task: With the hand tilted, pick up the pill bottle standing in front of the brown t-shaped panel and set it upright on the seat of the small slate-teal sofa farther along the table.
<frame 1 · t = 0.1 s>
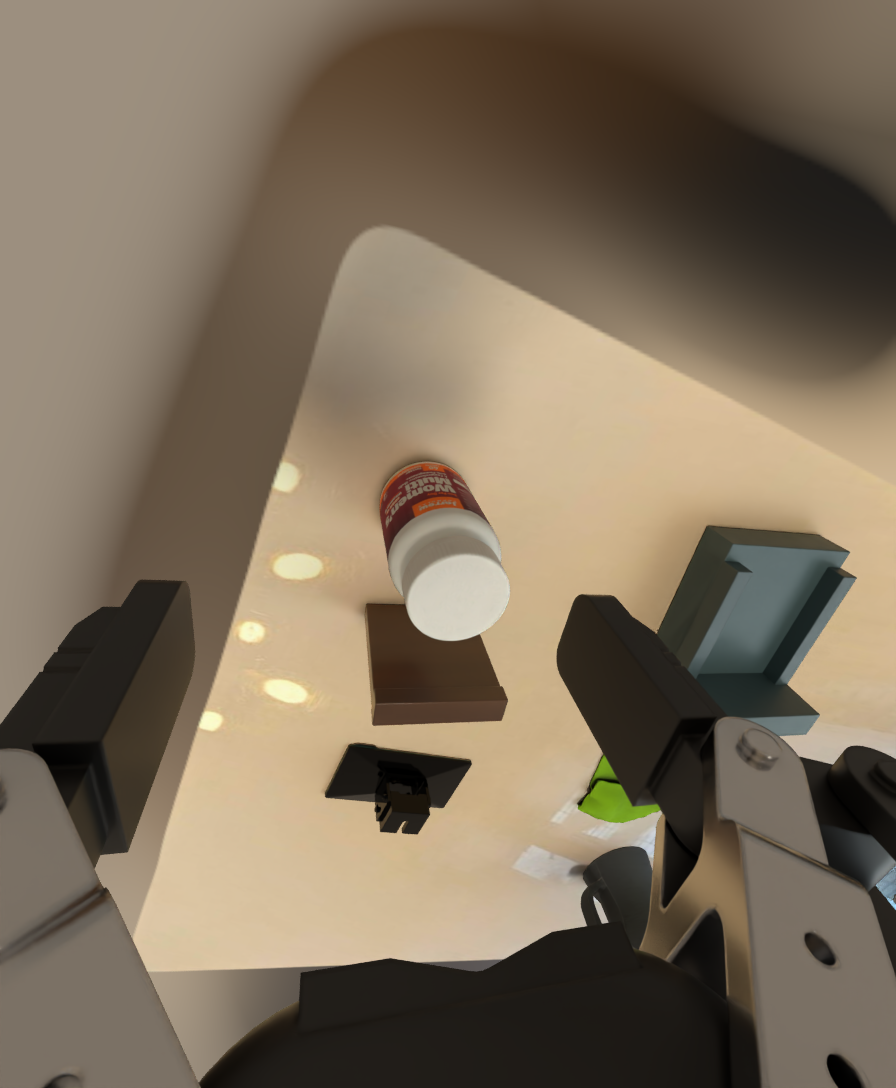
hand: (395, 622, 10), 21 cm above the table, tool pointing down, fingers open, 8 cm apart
black stand: (399, 775, 46), on the table
pill bottle: (423, 501, 33), on the table
brown t-shaped panel: (418, 611, 37), on the table
mug: (606, 865, 63), on the table
cloth: (673, 757, 54), on the table
sofa: (726, 604, 43), on the table
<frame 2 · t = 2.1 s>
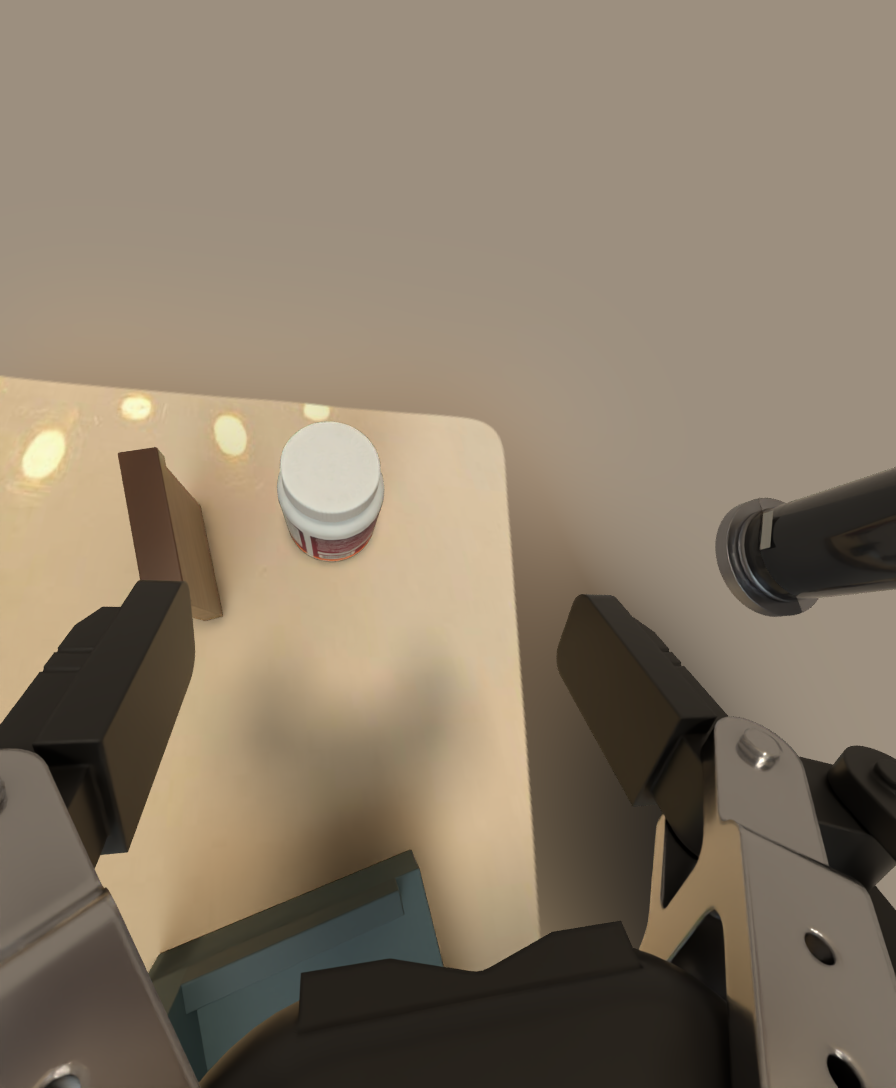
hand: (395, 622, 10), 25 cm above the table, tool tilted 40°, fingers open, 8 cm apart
pill bottle: (331, 523, 36), on the table
brown t-shaped panel: (202, 561, 33), on the table
sofa: (317, 998, 29), on the table
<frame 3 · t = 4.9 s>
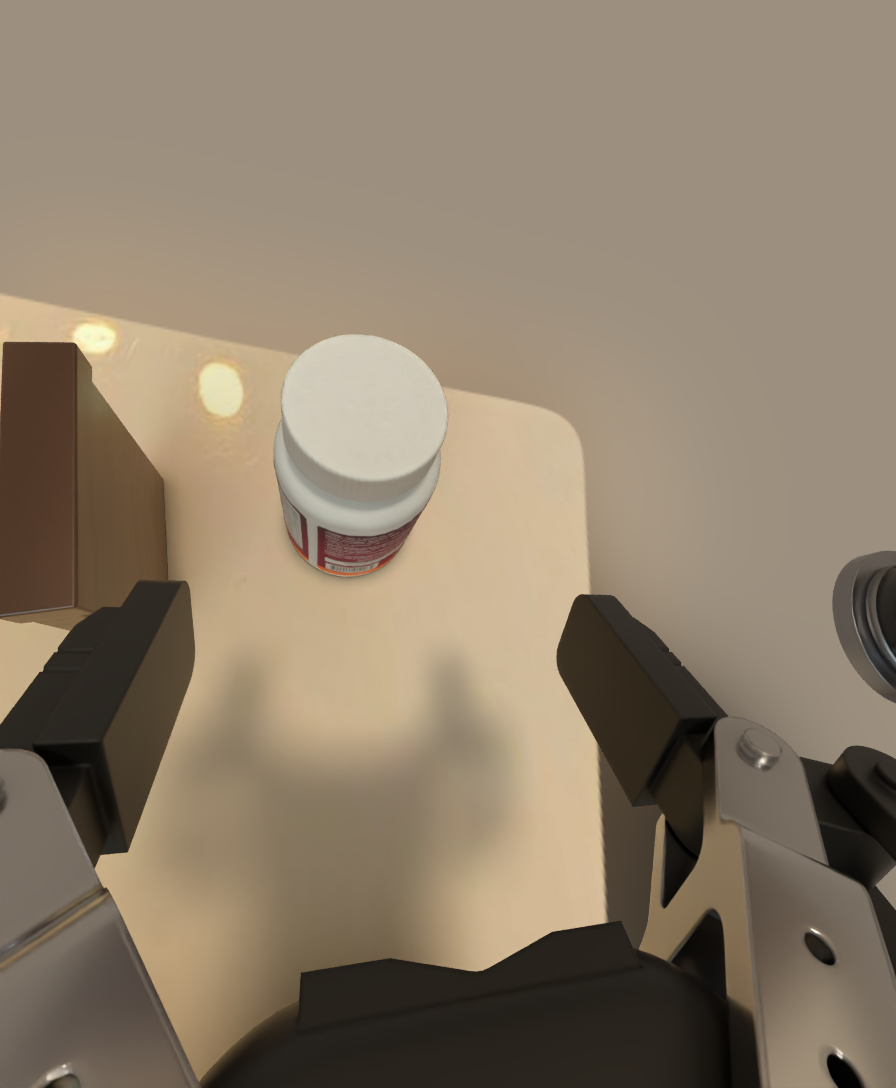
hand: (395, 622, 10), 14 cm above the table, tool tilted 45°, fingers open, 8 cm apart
pill bottle: (347, 523, 25), on the table
brown t-shaped panel: (152, 559, 22), on the table
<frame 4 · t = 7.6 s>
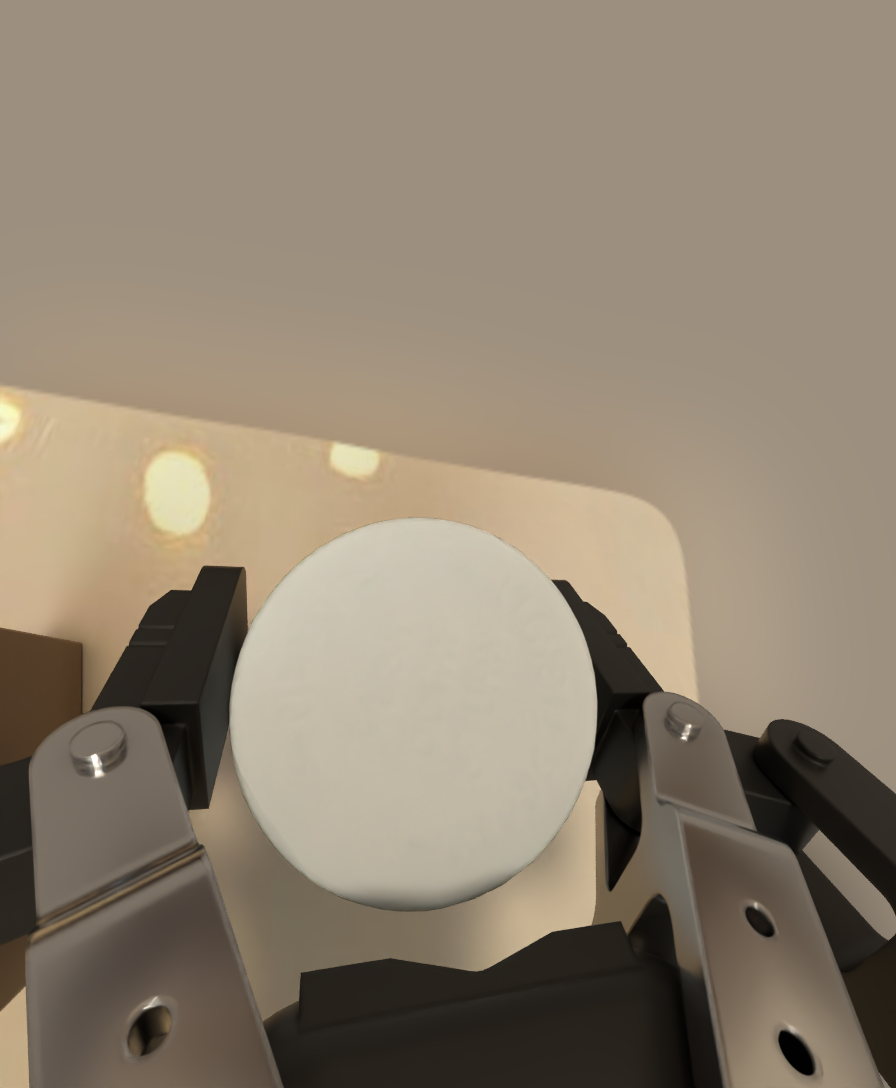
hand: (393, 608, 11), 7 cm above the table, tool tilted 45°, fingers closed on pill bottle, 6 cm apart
pill bottle: (361, 690, 17), on the table, touching gripper
brown t-shaped panel: (58, 781, 14), on the table
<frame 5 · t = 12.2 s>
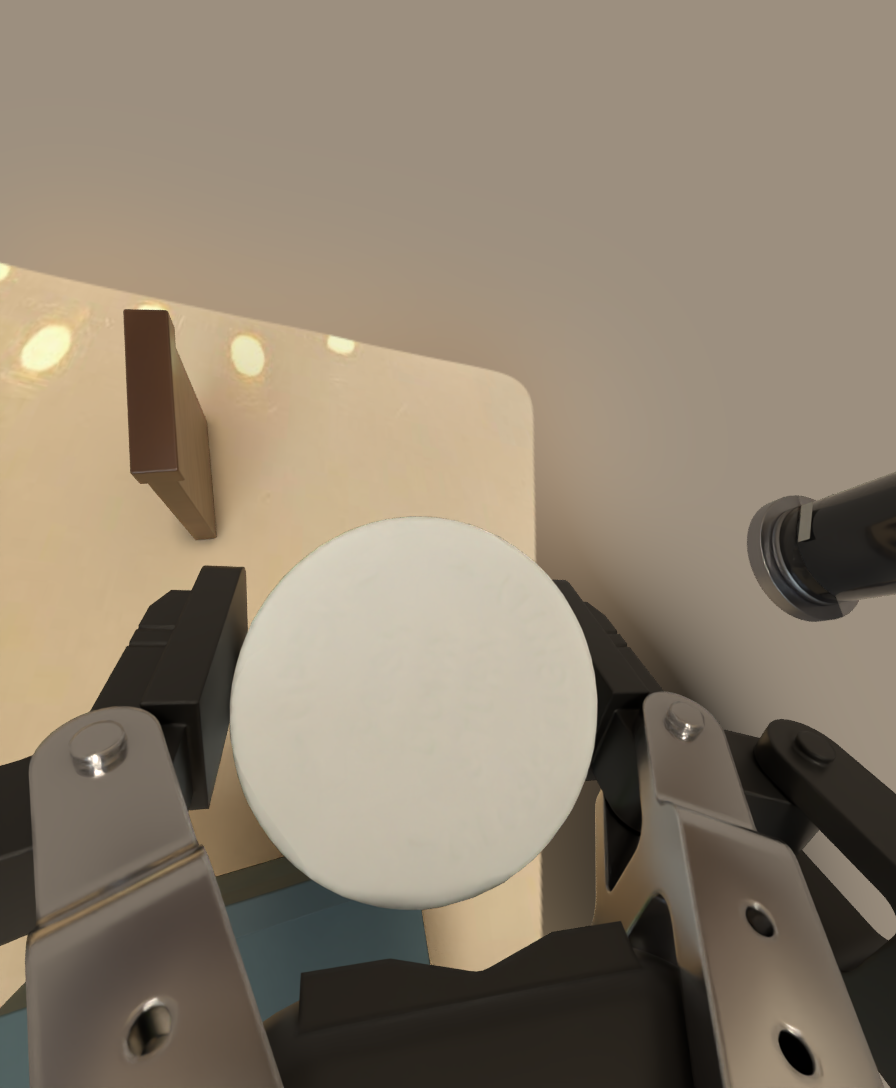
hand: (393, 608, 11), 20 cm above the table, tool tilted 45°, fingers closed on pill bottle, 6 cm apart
pill bottle: (361, 689, 17), point 13 cm above the table, touching gripper
brown t-shaped panel: (201, 478, 30), on the table
sofa: (274, 990, 24), on the table
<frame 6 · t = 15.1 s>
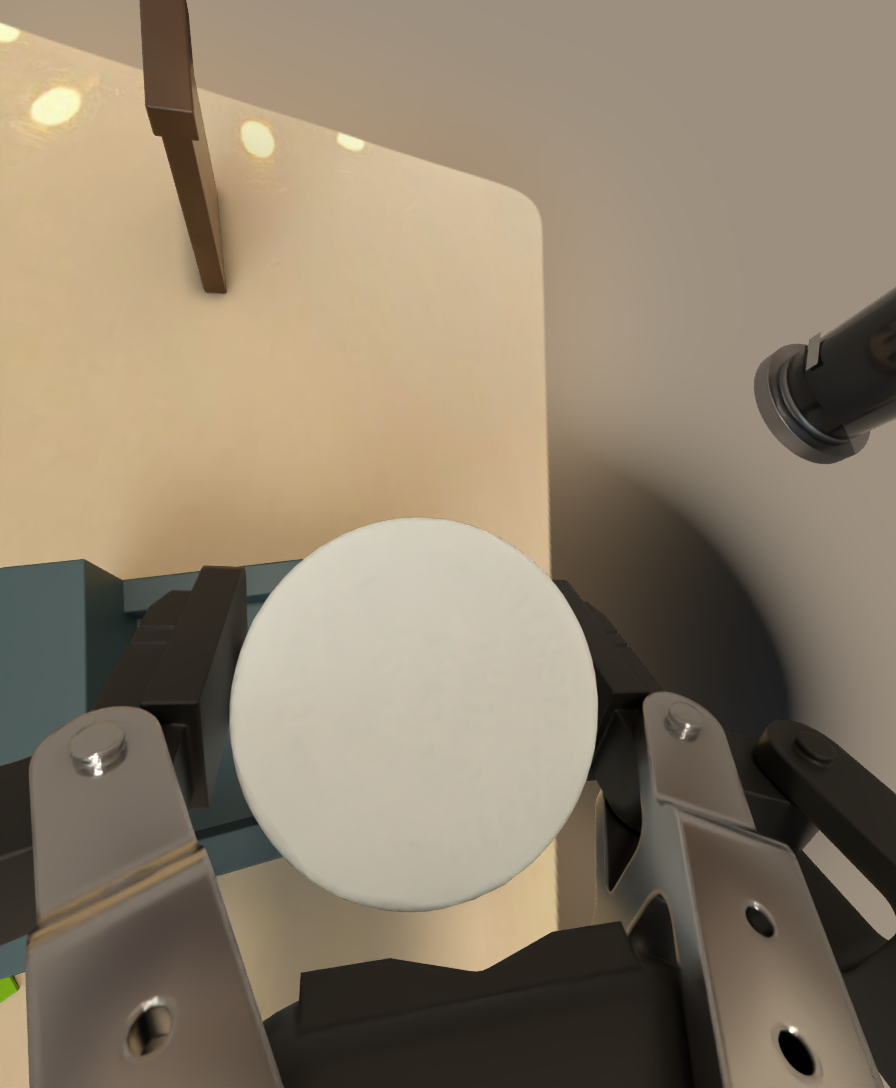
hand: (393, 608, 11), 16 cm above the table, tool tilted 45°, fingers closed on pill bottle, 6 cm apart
pill bottle: (361, 690, 17), point 8 cm above the table, touching gripper
brown t-shaped panel: (211, 239, 30), on the table
sofa: (284, 696, 24), on the table
when the fingers open (10 cm above the table, at t = 17.2 s): pill bottle stays where it is, resting on sofa.
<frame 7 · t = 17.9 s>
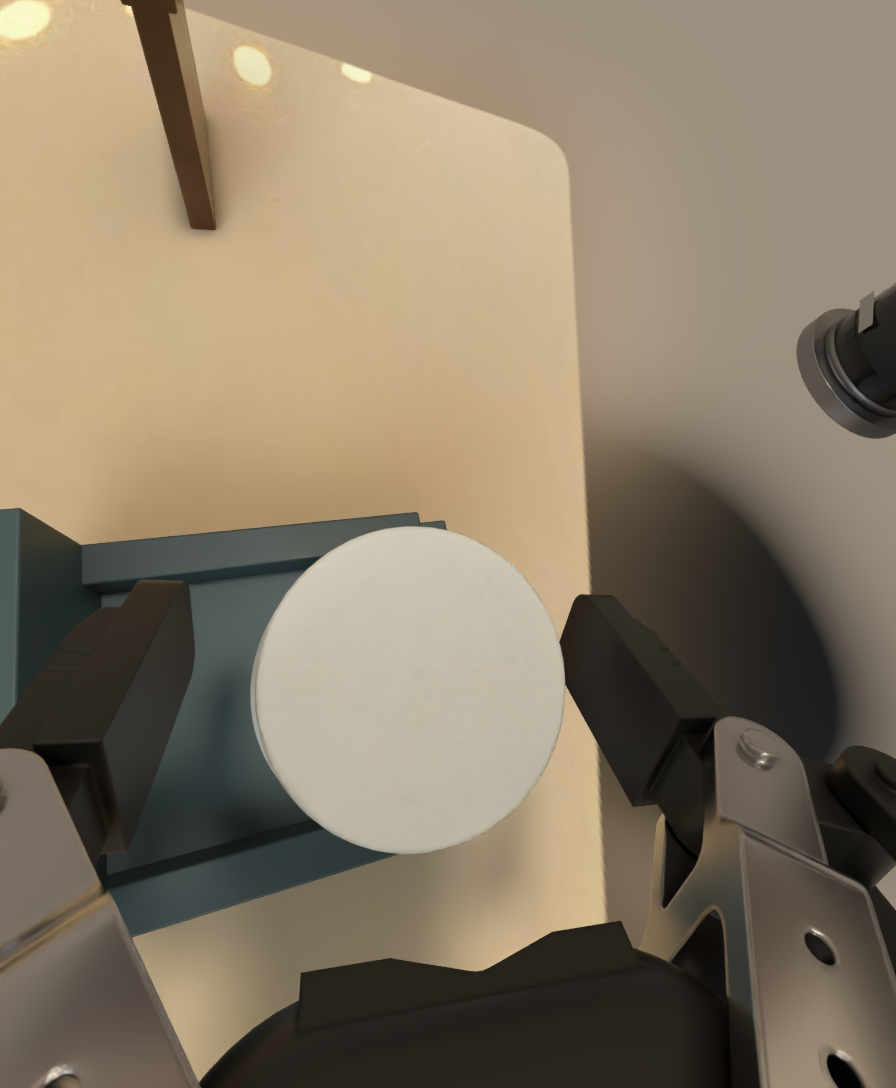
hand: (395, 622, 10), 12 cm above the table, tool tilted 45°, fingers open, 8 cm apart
pill bottle: (363, 681, 18), point 3 cm above the table, touching sofa
brown t-shaped panel: (198, 170, 26), on the table
sofa: (282, 691, 20), on the table
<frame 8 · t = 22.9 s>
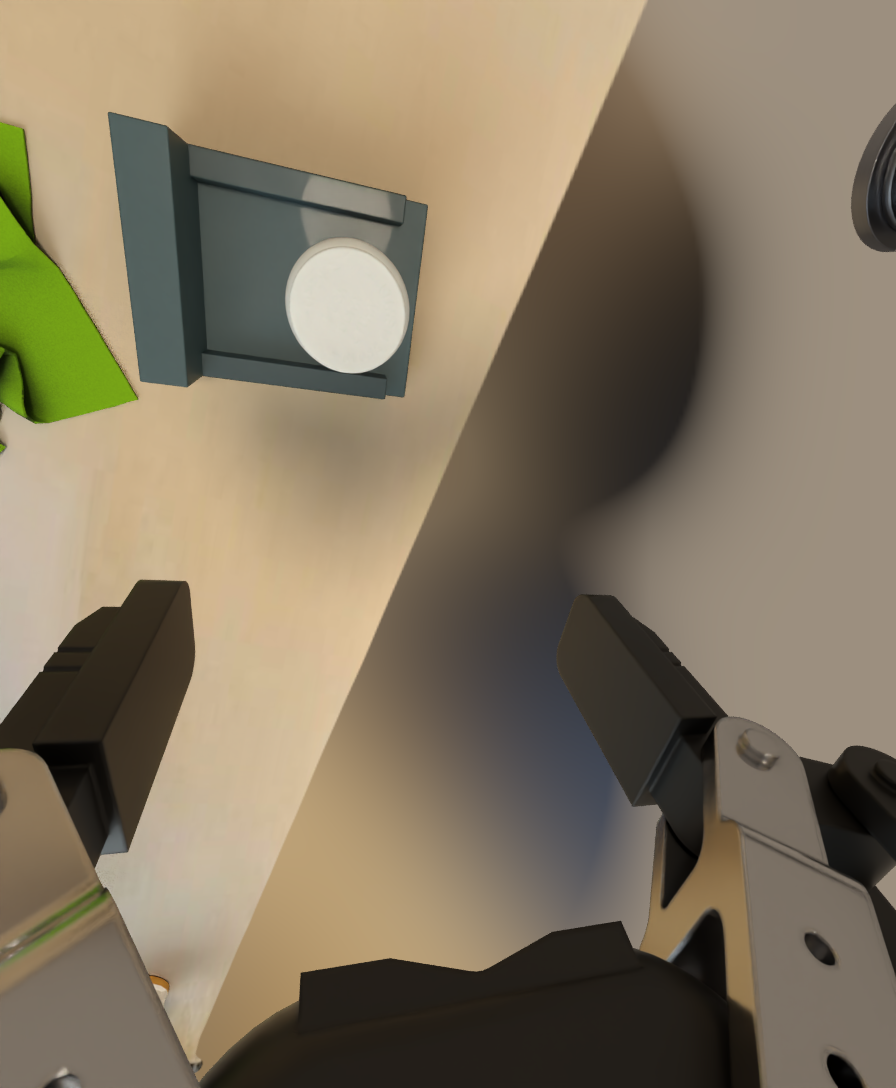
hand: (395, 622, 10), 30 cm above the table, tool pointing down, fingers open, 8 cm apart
pill bottle: (347, 301, 31), point 3 cm above the table, touching sofa
sofa: (300, 286, 33), on the table
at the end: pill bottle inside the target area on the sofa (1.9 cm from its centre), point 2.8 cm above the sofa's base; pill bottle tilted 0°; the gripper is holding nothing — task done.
